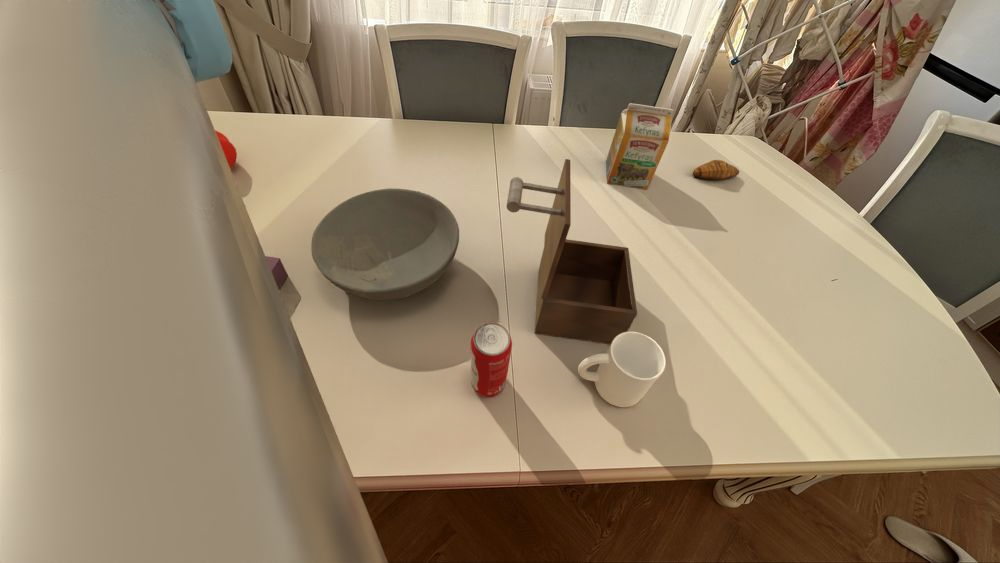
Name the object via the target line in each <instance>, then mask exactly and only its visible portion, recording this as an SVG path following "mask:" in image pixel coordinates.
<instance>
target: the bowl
mask: <svg viewBox="0 0 1000 563" xmlns="http://www.w3.org/2000/svg"><path fill="white" fill-rule="evenodd" d="M459 243H460V228H459V224H458V221H457V219H456V216H455V215H454V214H453V212H452V210H451V209H450V208H448V206H447V205H445V204H444V203H443V202H442V201H440V200H439V199H437V198H436V197H434V196H432V195H430V194H427V193H426V192H425V193H424V192H422V191H421V192H420V191H417V190H413V189H412V190H411V189H406V188H382V189H374V190H370V191H367V192H363V193H360V194H357V195H355V196H352V197H350V198H348V199H346V200H344V201H343V202H341V203H339V204H338V205H336V206H335V207H334V208H332V209H331V210H330V211H329V212H328V213H327V214H325V216H324V217H323V218H322V219H321V220H320V222H319V223H318V225H317V226H316V228H315V229H314V230H313V233H312V238H311V248H310V249H311V257H312V260H313V262H314V263H315V265H316V267H317V268H318V270H319V271H320V273H321V274H322V275H323V277H325V278H326V279H327V280H328V282H330V283H331V284H333V285H334V286H335V287H337V288H338V289H340V290H342V291H344V292H346V293H347V294H351V295H354V296H357V297H360V298H363V299H368V300H372V301H391V300H399V299H404V298H407V297H411V296H412V295H415V294H417V293H419V292H421V291H423V290H425V289H426V288H428V287H429V286H431V285H432V284H433V283H435V282H436V281H437V280H438V279H439V278H441V276H442V275H443V274H444V273H445V272H446V271H447V269H448V268H449V267H450V264H451V263H452V261H453V260H454V258H455V256H456V253H457V251H458V250H457V249H458V248H459Z"/></svg>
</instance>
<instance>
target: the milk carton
mask: <svg viewBox="0 0 1000 563" xmlns="http://www.w3.org/2000/svg"><path fill="white" fill-rule="evenodd" d="M673 115H674V109H673V108H667V107H666V108H665V107H660V106H651V105H645V104H638V103H632V102H630V103H629V104H628V105H627V108H625V109H623V110H622V112H621V113H620V116H619V119H618V122H617V124H616V125H617V126H616V129H615V131H614V135H613V137H612V141H611V144H610V148H609V150H608V153H607V156H606V159H605V169H606V171H605V172H606V184H607V185H614V186H620V187H627V188H633V189H638V190H644V191H645V190H646V191H648V189H649V187H650V185H651V183H652V180H653V178H654V176H655V174H656V171H657V169H658V166H659V164H660V162H661V159H662V158H663V155H664V153H665V150H666V148H667V147H668V146H667V145H668V144H669V141H670V137H671V130H672V118H673Z"/></svg>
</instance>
